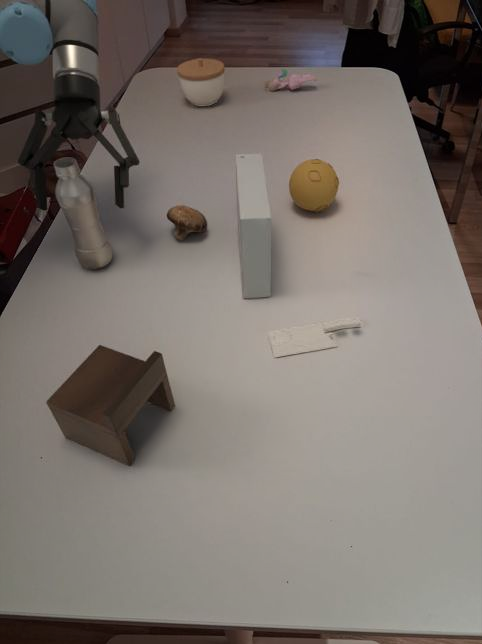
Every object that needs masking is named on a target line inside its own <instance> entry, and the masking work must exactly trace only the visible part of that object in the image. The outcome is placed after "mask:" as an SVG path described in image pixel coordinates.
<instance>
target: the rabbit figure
mask: <svg viewBox="0 0 482 644" xmlns="http://www.w3.org/2000/svg"><path fill="white" fill-rule="evenodd" d="M281 71H282V73H280V74H279V75H277V77H276V78H274V79H272V80H267V81H264V84H263V90H264V92H266V91H267V87H268V88H269V90H270V91H271V92H275V91H276V90H279V89H280V90H281V89H284V88H286V87H288V88H289V89H290V90H292V91H294V90H296V89H299V88H301V86H302V84H304V83H306V82H308V81H313V82H317V81H318V77H317V76H315V75H313V74H310V73H307V74H302V75H301V74H298V73H294V74H292V75H290V76H289V77H288V79H287V81H286V80H285V79H283V78H285V77H287V75H288V70H287V69H286V68H282V69H281Z"/></svg>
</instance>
